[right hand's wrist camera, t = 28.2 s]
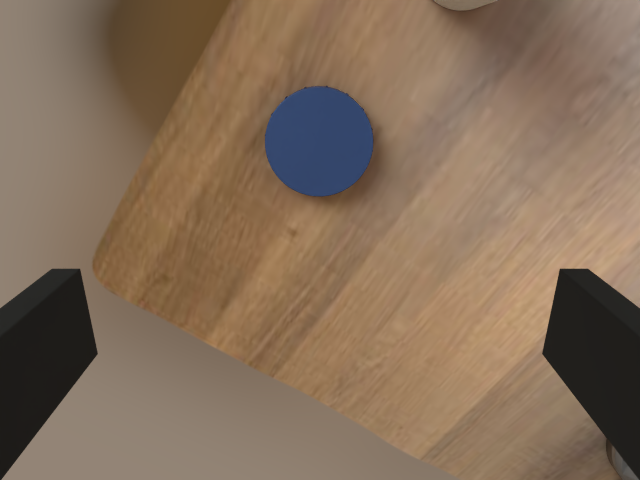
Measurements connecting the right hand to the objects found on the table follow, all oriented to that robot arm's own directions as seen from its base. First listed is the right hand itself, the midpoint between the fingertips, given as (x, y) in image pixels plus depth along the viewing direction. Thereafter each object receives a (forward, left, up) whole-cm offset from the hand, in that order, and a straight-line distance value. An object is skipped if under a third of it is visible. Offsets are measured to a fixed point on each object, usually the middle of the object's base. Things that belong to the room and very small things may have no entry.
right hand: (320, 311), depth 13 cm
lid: (0, 0, -28) cm, 28 cm away
